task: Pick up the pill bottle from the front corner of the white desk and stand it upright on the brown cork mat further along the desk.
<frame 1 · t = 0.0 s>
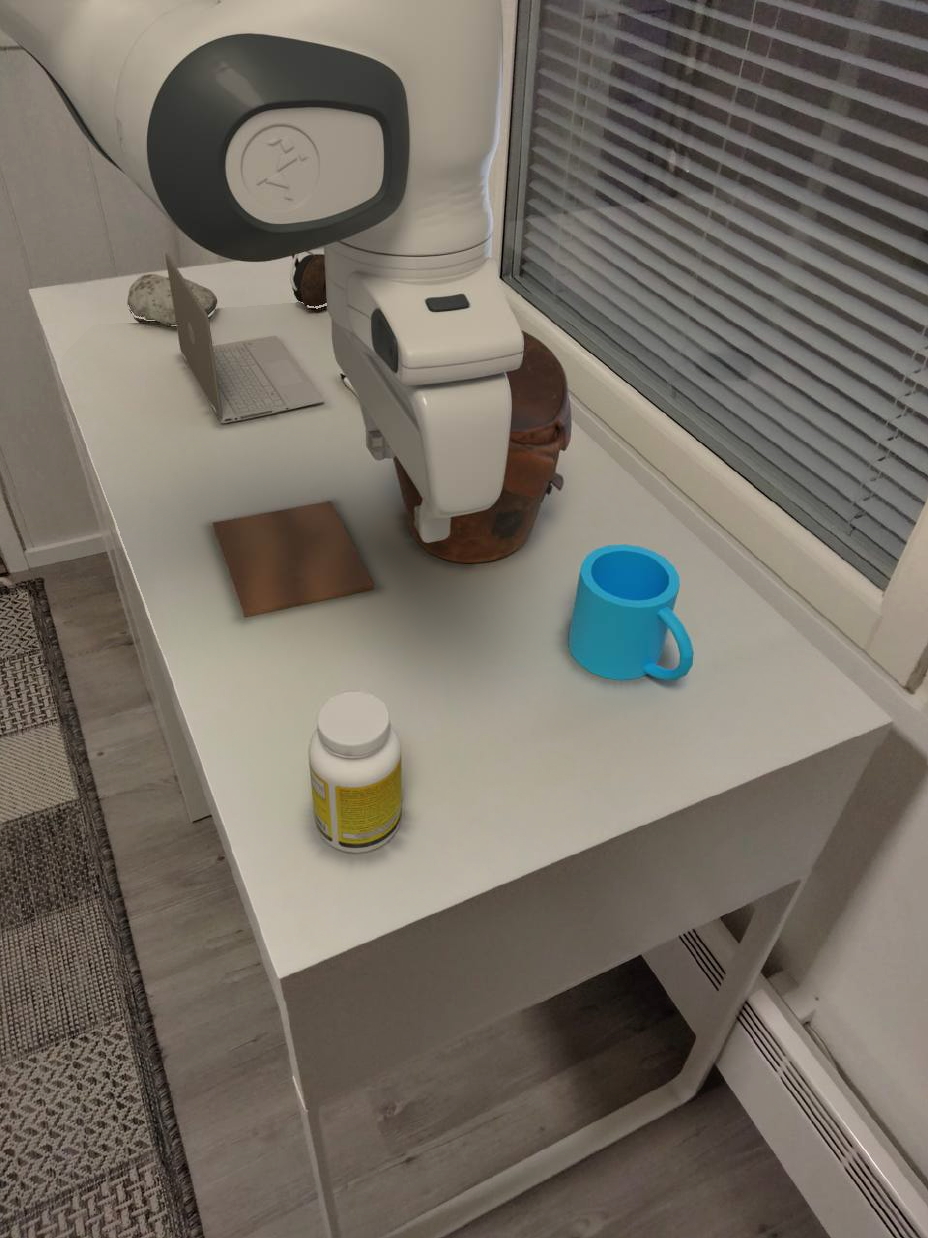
hand: (405, 492, 60), 22 cm above the table, tool pointing down, fingers open, 8 cm apart
mug: (629, 661, 82), on the table
headset: (344, 318, 129), on the table
case: (469, 529, 95), on the table
pill bottle: (358, 821, 68), on the table
cork mat: (290, 557, 90), on the table
laptop: (250, 381, 115), on the table
decorative stone: (172, 318, 127), on the table
pen: (375, 414, 110), on the table
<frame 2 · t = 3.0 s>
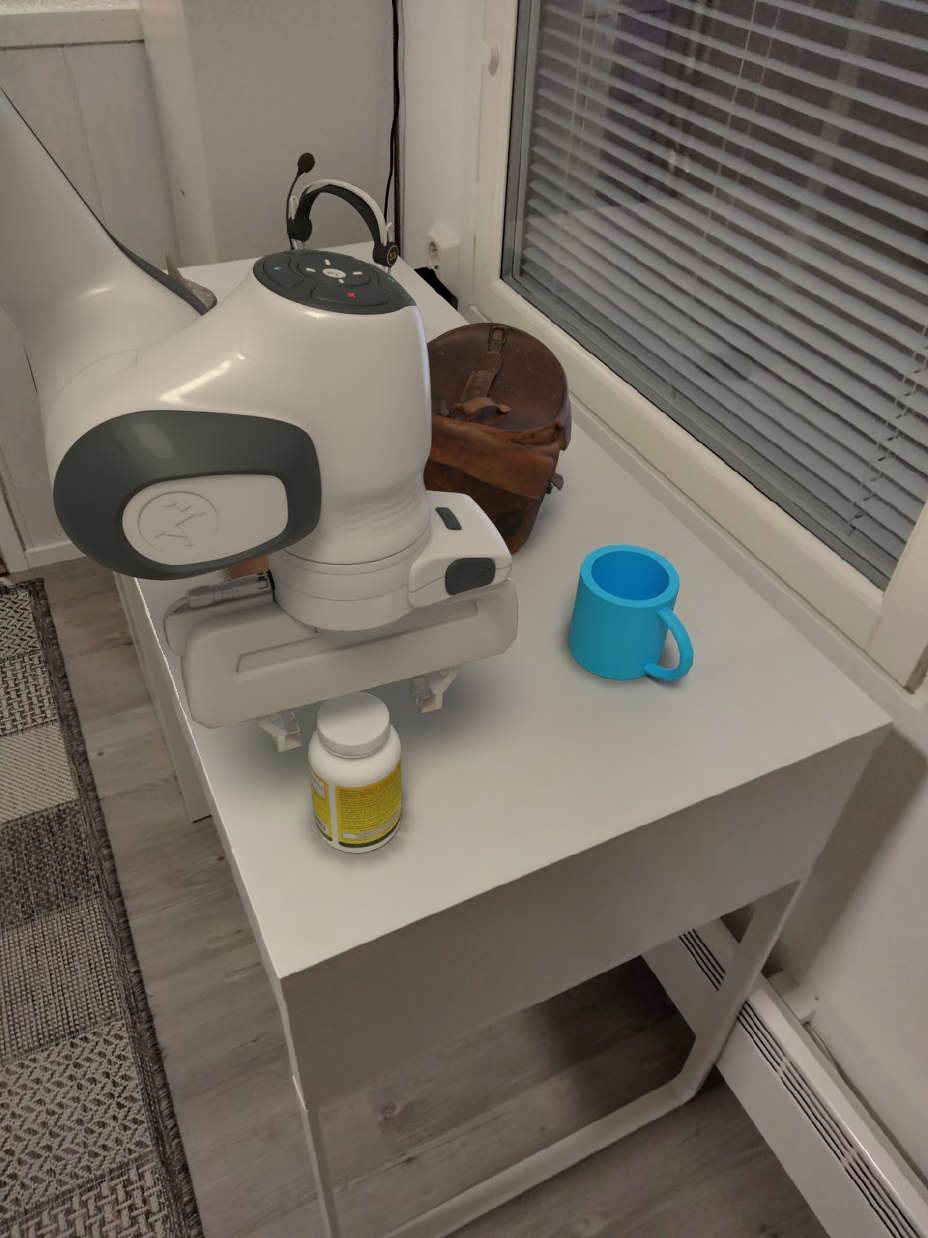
hand: (358, 723, 61), 10 cm above the table, tool pointing down, fingers open, 8 cm apart
nothing on the table moved.
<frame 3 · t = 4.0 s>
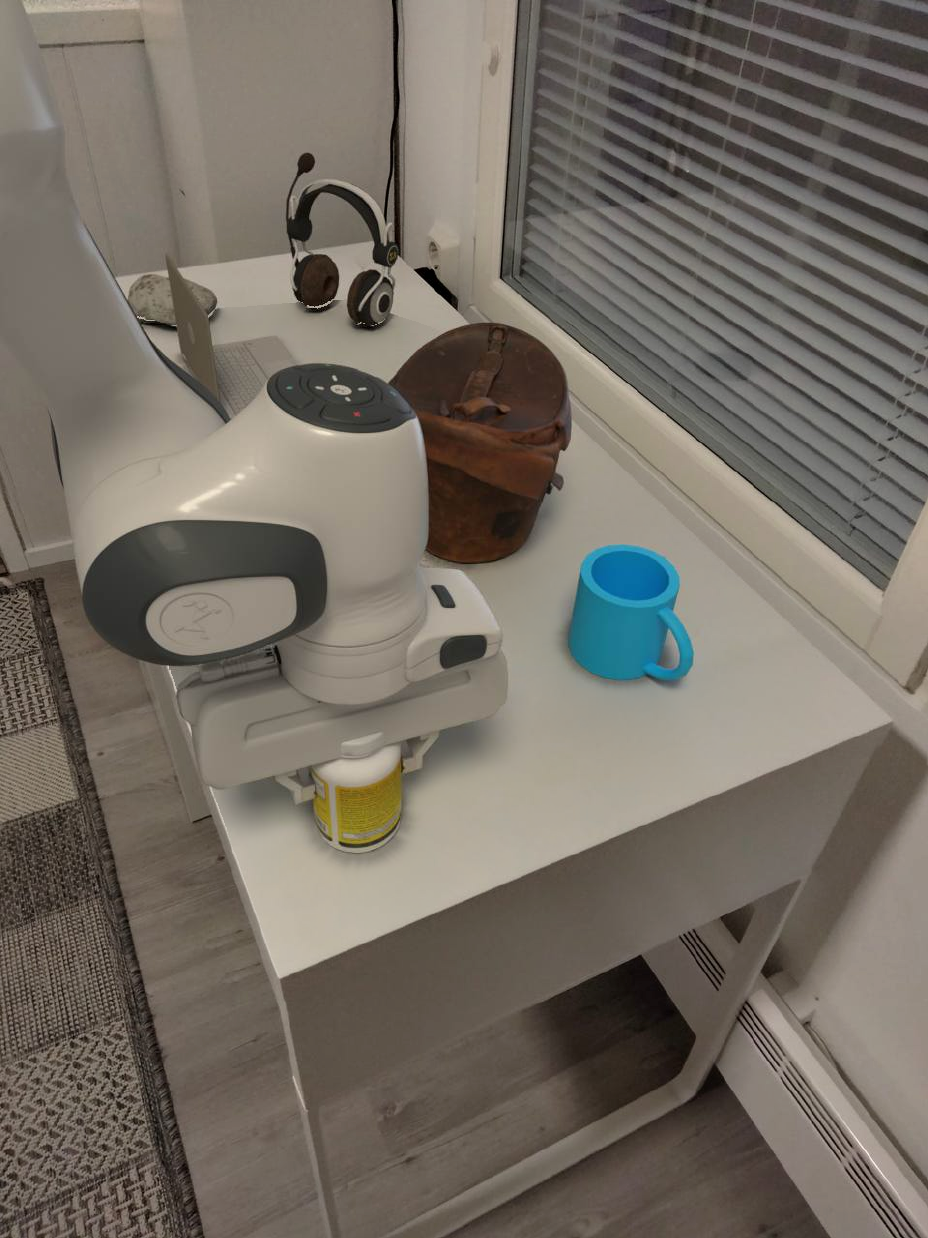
hand: (357, 779, 65), 5 cm above the table, tool pointing down, fingers closed on pill bottle, 6 cm apart
pill bottle: (358, 821, 68), on the table, touching gripper
everything else where it was.
when the fingers open (5 cm above the table, at t = 12.3 s): pill bottle stays where it is, resting on cork mat.
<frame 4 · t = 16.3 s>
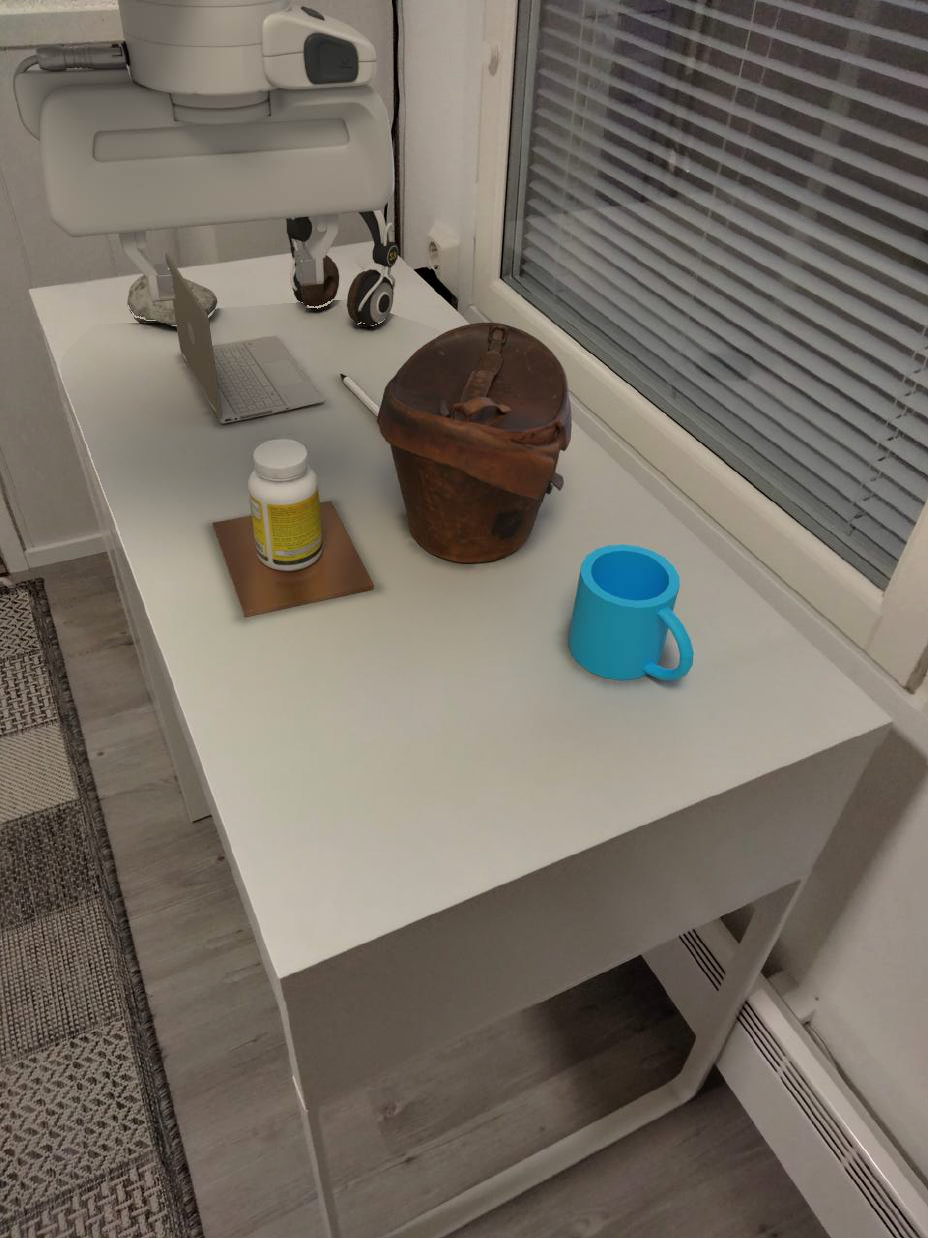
hand: (237, 289, 60), 31 cm above the table, tool pointing down, fingers open, 8 cm apart
pill bottle: (290, 554, 90), resting on cork mat
everything else where it was.
at the end: pill bottle inside the target area on the cork mat (0.1 cm from its centre), point 0.4 cm above the cork mat's base; pill bottle tilted 0°; the gripper is holding nothing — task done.
